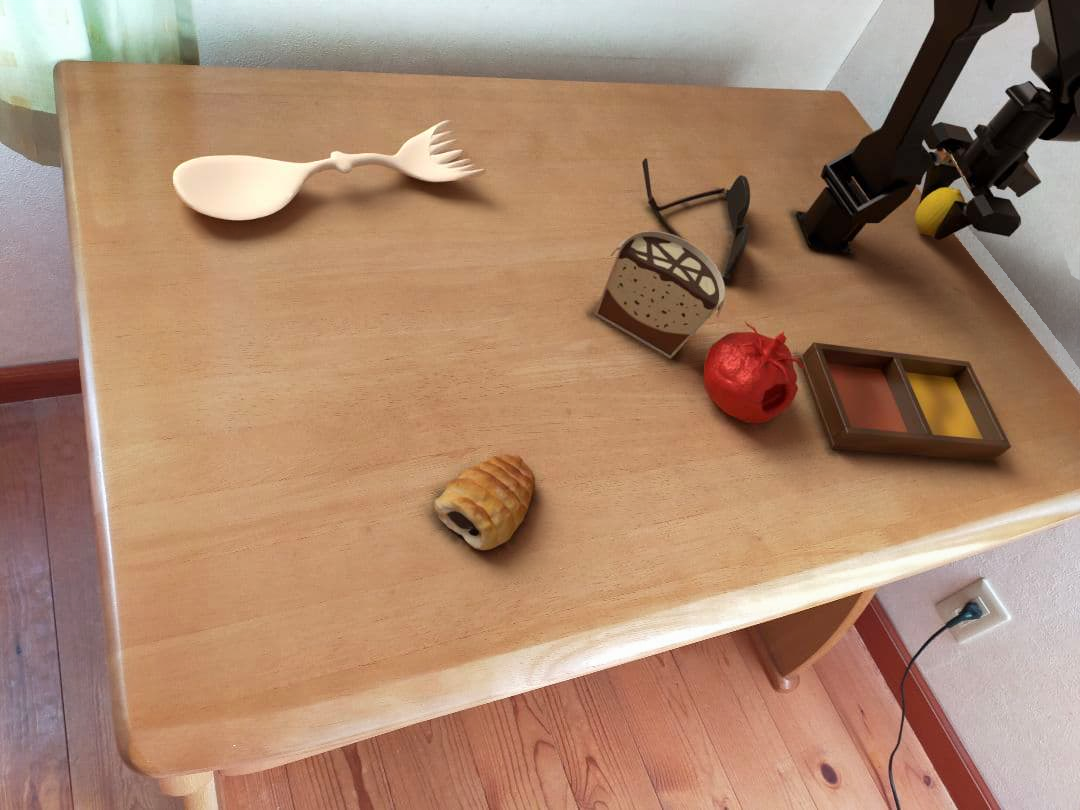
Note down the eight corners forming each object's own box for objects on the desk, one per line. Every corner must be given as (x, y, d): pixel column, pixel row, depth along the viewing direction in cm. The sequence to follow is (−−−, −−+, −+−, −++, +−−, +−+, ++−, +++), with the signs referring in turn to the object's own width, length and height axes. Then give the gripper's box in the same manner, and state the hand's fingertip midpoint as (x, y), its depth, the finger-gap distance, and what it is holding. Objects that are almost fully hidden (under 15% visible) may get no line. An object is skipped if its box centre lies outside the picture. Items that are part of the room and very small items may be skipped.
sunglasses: (634, 160, 112) (650, 129, 108) (736, 199, 114) (755, 170, 110) (622, 246, 101) (639, 215, 98) (735, 287, 104) (756, 258, 100)
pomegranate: (676, 392, 91) (718, 335, 84) (715, 342, 97) (757, 285, 90) (754, 450, 89) (804, 398, 82) (789, 396, 96) (838, 343, 89)
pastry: (490, 447, 79) (502, 424, 76) (548, 495, 78) (563, 473, 75) (425, 513, 73) (435, 491, 70) (487, 565, 72) (500, 545, 70)
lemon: (940, 252, 122) (979, 210, 116) (904, 238, 122) (943, 194, 115) (936, 228, 126) (974, 185, 120) (902, 214, 125) (938, 170, 119)
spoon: (481, 192, 99) (489, 169, 96) (192, 240, 82) (193, 213, 80) (444, 139, 102) (451, 115, 100) (159, 175, 86) (159, 147, 83)
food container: (699, 331, 97) (743, 269, 90) (682, 366, 93) (727, 304, 86) (602, 275, 97) (638, 208, 90) (582, 307, 93) (617, 240, 86)
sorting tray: (830, 448, 93) (847, 432, 91) (798, 359, 100) (813, 342, 97) (992, 461, 100) (1012, 447, 98) (952, 377, 107) (969, 361, 104)
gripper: (1092, 195, 108) (1001, 281, 120) (1026, 99, 118) (949, 187, 130) (1022, 180, 104) (936, 270, 116) (961, 83, 115) (888, 175, 127)
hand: (929, 224), depth 122 cm, fingers closed on lemon, 5 cm apart
